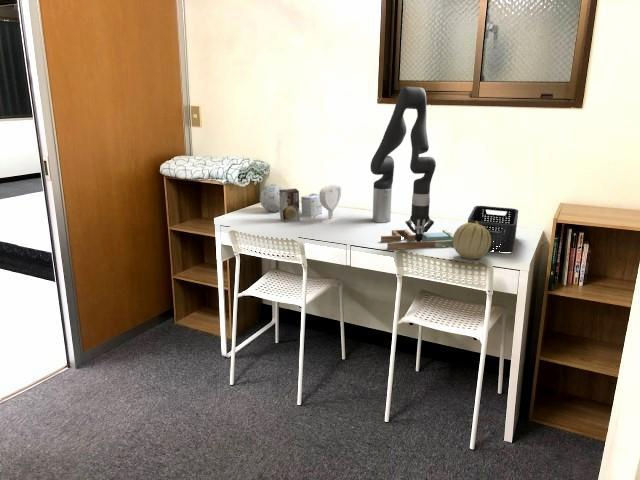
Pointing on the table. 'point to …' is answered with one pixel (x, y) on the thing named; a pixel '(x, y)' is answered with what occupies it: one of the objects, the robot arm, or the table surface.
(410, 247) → the maze
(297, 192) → the coffee box
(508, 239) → the storage bin
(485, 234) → the cantaloupe
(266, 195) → the puzzle ball
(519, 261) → the table surface
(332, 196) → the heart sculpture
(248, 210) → the table surface
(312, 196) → the light bulb box
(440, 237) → the block
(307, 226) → the table surface
